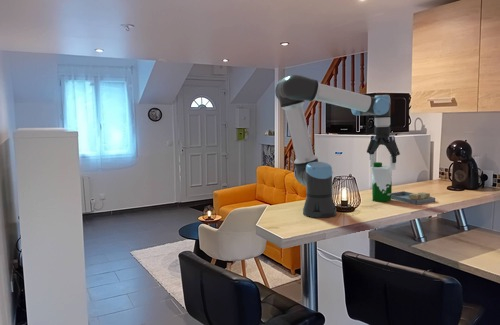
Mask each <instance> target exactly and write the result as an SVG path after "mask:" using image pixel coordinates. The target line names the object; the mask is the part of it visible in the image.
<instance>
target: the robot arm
mask: <svg viewBox="0 0 500 325" xmlns="http://www.w3.org/2000/svg"><path fill="white" fill-rule="evenodd" d="M274 93H275V97H276V98H277V100H278V101H279V105H280V109H282V110H284V112H285V116H286V121H287V125H288V129H289V134H290V138H291V141H292V146H293V151H294V154H295V160H294V161H293V164H294V171H293V175H294V177H295V178H294V179H295V180H296V181H297V182H298V183H299V184H301V185H302V186H304V187H306V197H305V201H304V205H303V207H302V214H303V215H304V216H305V215H306V217H308V216H310V217H309V218H315V217H316V218H319V219H320V218H323V219H325V218H332V217H334V216H336V215H337V207H336V205H335V201H334V199H333V169H332V168H333V167H332V165H331V164H330V163H327V162H323V161H319V159H318V156H317V155H315V154H314V151H313V146H312V143H311V138H310V133H309V130H308V129H309V128H308V124H307V120H306V116H305V112H304V107H303V106H304V104H305V102H306V101H308V102H315V101H317V102H322V103H325V104H329V105H334V106H339V107H341V108H347V109H350V111H351V113H352V115H354V116H374V134H375V135H374V134H373V135H370V141H369V143H368V146H367V149H366V154H369V161H370V162H369V163H370V167H371V168H372V167H374V163H375V162H376V151H377V149H378V148H379V147H380V146H381V145H382V146H384V147H386V149H387V151H388V152H389V154H390V157H389V161H390V162H389V163H390V164H389V167H390V170H392V171H393V170H396V163H397V156H400V155H401V152H400V150H399V148H398V145H397V141H396V138H395V135H390V134H391V105H392V103H391V97H390V95H389V94H380V95H374V96H370V95H366V94H362V93H358V92H355V91H351V90H347V89H343V88H339V87H336V86H332V85H327V84H324V83H320V82H319V80H317V79H314V78H310V77H307V76H304V75H302V74H291V75H289V76H288V75H287V76H285V77H283V78H280V79H279V81H277V83H276V85H275V87H274ZM370 167H369V168H370ZM316 218H315V219H316Z"/></svg>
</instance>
